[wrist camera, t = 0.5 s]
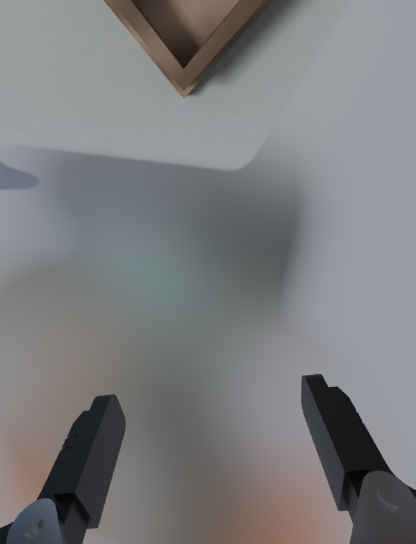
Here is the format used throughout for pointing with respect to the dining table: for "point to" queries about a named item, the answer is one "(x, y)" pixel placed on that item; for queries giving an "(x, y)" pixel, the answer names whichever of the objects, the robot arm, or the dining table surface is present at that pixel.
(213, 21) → the wooden tray
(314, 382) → the robot arm
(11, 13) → the dining table surface
